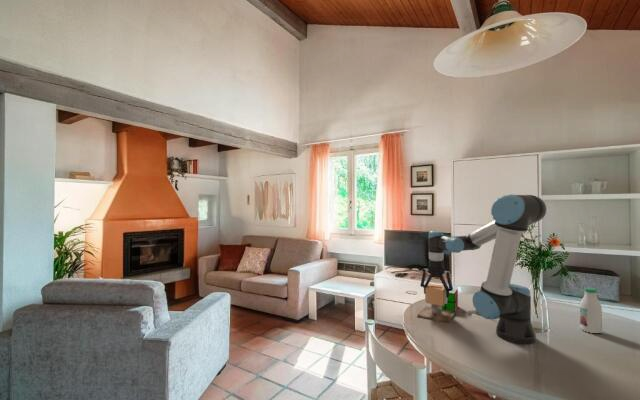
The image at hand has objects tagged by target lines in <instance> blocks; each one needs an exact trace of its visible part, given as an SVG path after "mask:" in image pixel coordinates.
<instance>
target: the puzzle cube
mask: <svg viewBox="0 0 640 400" xmlns="http://www.w3.org/2000/svg"><path fill="white" fill-rule="evenodd" d="M458 294H459V291H458V289H456V288H453V290H452V291H449V297H448V298H447V304H444V306H442V309H443V310H449V311H454V312H456V310H457V308H458V307H459V299H458V298H459V295H458Z"/></svg>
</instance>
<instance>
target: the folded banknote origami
mask: <svg viewBox="0 0 640 400" xmlns="http://www.w3.org/2000/svg"><path fill="white" fill-rule="evenodd" d="M473 314H474V315H476V316H480V317H482V316H481V315H479V313H478V312H477V311H476V310H472V309H471V310H468V312H467V315H468V316H469V317H472V315H473Z"/></svg>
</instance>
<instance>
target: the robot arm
mask: <svg viewBox="0 0 640 400" xmlns="http://www.w3.org/2000/svg"><path fill="white" fill-rule="evenodd" d="M490 214H491V216H492V219H493V220H492V221H490V222H489V223H487V224H484V225H483V226H482V227H479V228H478V229H476V230H473V231H472V232H471V233H469V234H467V235H459V236H458V235H456V236H447V235H445V234H444V232H443V231H442V230H441V231H440V230H431V231H429V232H428V259H429V260H428V268H423V269H422V277H421V280H420V287H421V288H423V294H424V295H425V288H426V287H427V286H428V285H429V284H430V282H431V280H432V279H433V278H439V280H440V281H441V283H442V286H444V288H445V290H446V291H445V304H447V298H448V297H449V291H452V290H453V289H454V287H453V283H452V279H451V271H450V270H448V271H447V270H445V268H444V267H445V266H444V265H445V264H444V263H445V262H444V257H445V256H444V255H445V253H444V251H445V252H450V253H452V254H453V253H455V254H458V253H461V252H463V251H464V252H465V251H475V250H479V249H480V248H481V247H482V245H484V244H487V243H489V242H491V241H493V240H494V244H493V247H492V248H493V249H492V253H491V258H490V264H489V267H488V272H487V277H486V280H484V281H482V283H481V285H480V290H478V291H477V292H476V291H475V293H473V295H472V305H473V307H474V309H475V311H477V312H478V313H479V315H481V316H480V317H482V318H484V319H485V320H498V322H497V324H496V327H495V333H496V334H495V335H497V336H498V337H500V338H501V339H503V340H505V341H509V342H513V343H517V344H523V345H524V344H525V345H527V344H534V343H536V342H537V335H536V332H535V329H534V327H533V324H532V315H531V314H532V311H531V310H532V308H531V306H532V305H531V303H532V302H531V300H532V299H531V298H532V296H531V290H530V289H529V288H528V287H526V286H523V285H518V284H516V283H515V284H514V283H511V281H512V276H513V273H514V269H515V263H516V260H517V255H518V251H519V249H520V243H521V242H520V241H521V238H522V235H523V234H524V233H526V232H528V229H529V227H530V226H531V225H533V224H536V223H538V222H539V221H541V220H542V219H544V217H545V216H546V214H547V205H546V203H545V202H544V200H543V199H542V198H540V197H539V196H536V195H532V194H508V195H507V194H506V195H502V196H500V197H498V198H497V199H495V201H493V203H492V206H491V209H490ZM427 273H429V276H428V278H427ZM444 274H445V276H446V280H447V282H446V280H445V278H444ZM426 278H427V280H426ZM425 281H426V282H425ZM479 315H478V316H479Z"/></svg>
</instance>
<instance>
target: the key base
mask: <svg viewBox="0 0 640 400" xmlns="http://www.w3.org/2000/svg"><path fill="white" fill-rule="evenodd" d="M456 313H457V312H456V311H449V310H443V309H442V306H441V305H435V304H431V306H425V307H423V308H422V310H421V311H419V312H418V313H417V315H416V316H417V317H418V318H421V317H422V319H426V318H427V320H431V321H438V322H441V323H448V324H450V323H451V321H452V320H453V318H454V317H455V315H456Z"/></svg>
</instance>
